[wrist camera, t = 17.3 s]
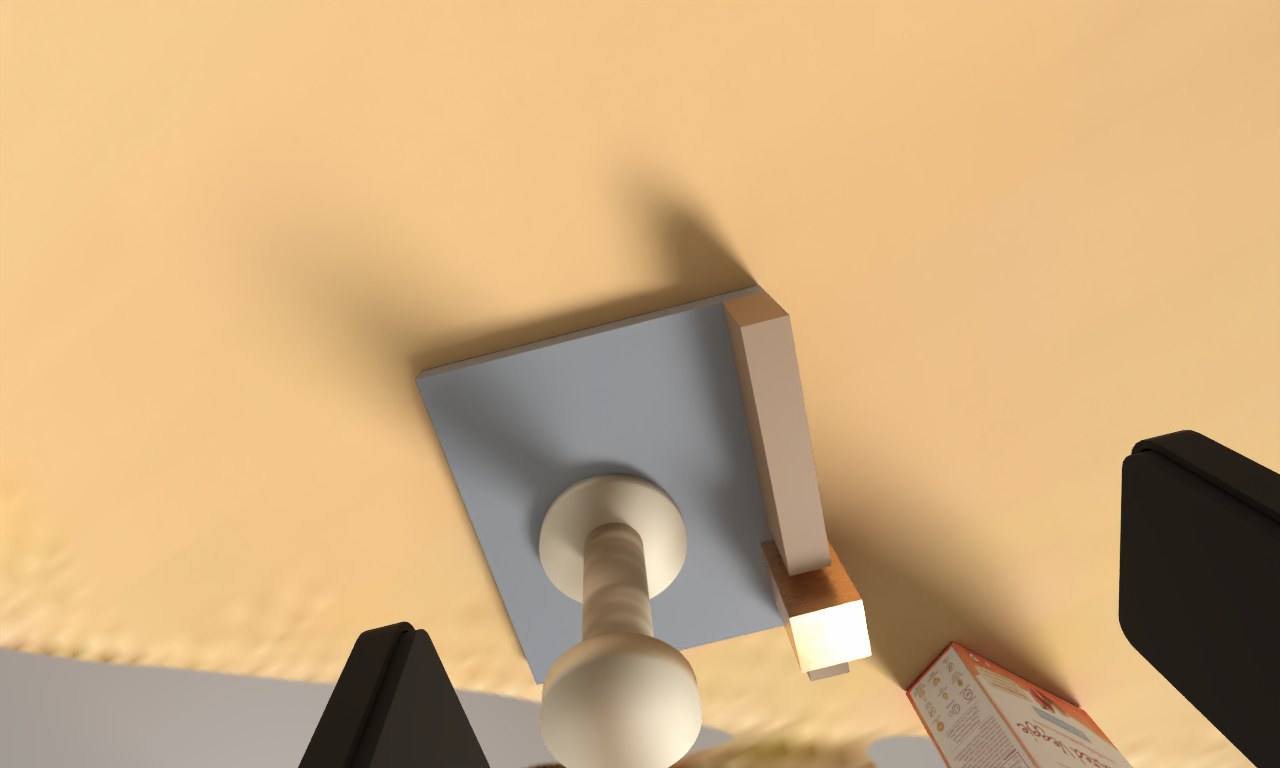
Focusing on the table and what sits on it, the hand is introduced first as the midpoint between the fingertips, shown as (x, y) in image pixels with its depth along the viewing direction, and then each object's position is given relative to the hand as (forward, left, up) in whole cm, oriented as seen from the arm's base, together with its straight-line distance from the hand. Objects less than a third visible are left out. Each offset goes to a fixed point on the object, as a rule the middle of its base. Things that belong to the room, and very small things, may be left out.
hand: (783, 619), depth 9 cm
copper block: (-5, +22, -29) cm, 37 cm away
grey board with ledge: (+4, +16, -30) cm, 34 cm away
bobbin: (+6, +17, -29) cm, 34 cm away
